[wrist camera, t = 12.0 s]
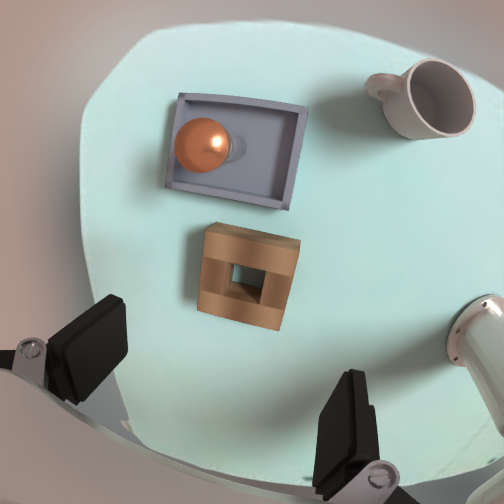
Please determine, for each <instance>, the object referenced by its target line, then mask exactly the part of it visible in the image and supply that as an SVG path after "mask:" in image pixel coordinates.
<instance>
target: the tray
mask: <svg viewBox="0 0 504 504" xmlns="http://www.w3.org/2000/svg"><path fill="white" fill-rule="evenodd" d="M307 114H308V107H305V106H299V105H294V104H288V103H282V102H276V101H270V100H263V99H255V98H247V97H238V96H228V95H216V94H200V93H179V95H178V101H177V106H176V112H175V118H174V124H173V130H172V137H171V144H170V151H169V158H168V166H167V175H166V184H165V188H172V189H178V190H183V191H189V192H195V193H201V194H206V195H212V196H217V197H223V198H228V199H233V200H238V201H243V202H248V203H253V204H258V205H263V206H268V207H273V208H277V209H282V210H287V211H288V210H289V207H290V203H291V198H292V193H293V188H294V183H295V178H296V173H297V168H298V163H299V157H300V152H301V147H302V141H303V136H304V131H305V125H306V120H307ZM195 118H209V119H212V120H215V121H217V122H219V123H220V124H222V125H223V126H224V127H225V128H226V130H227V131H228V132H229V133H233V134H237V135H239V136H241V137H242V138H243V139H244V140H245V142H246V146H247V148H246V152H245V154H244V156H243V157H242V158H240V159H239V160H235V161H225V162H224V163H223V164H222V165H221V166H220V167H219V168H217V169H215V170H213V171H210V172H205V173H195V172H191V171H189V170H187V169H185V168H184V167H183V166H182V165H181V164H180V163H179V161H178V160H177V158H176V155H175V151H174V142H175V138H176V135H177V133H178V131H179V130H180V128H181V127H182V126H183V125H184V124H185V123H187V122H188V121H190V120H192V119H195Z"/></svg>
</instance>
